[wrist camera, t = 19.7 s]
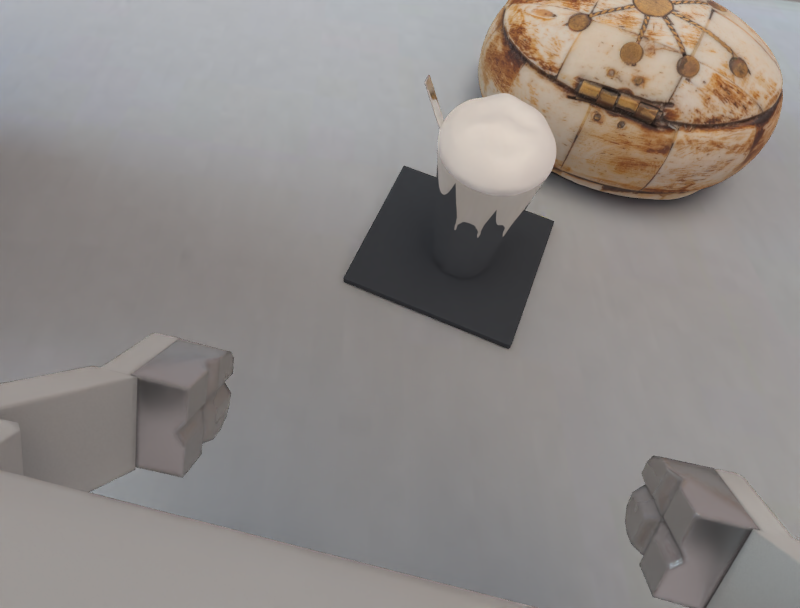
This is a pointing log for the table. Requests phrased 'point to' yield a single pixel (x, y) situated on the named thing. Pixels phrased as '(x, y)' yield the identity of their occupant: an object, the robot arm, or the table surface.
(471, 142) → the milkshake
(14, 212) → the table surface
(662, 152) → the trinket box
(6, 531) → the robot arm
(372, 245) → the mat
